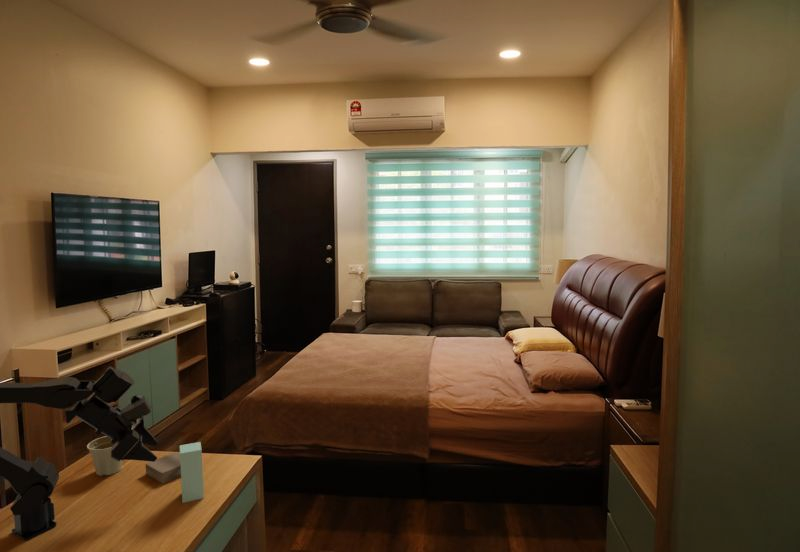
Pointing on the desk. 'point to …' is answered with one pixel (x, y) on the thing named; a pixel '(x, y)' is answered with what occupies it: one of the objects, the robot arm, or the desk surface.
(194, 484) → the pillar
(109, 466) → the flower pot
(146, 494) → the desk surface
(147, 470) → the base slab
